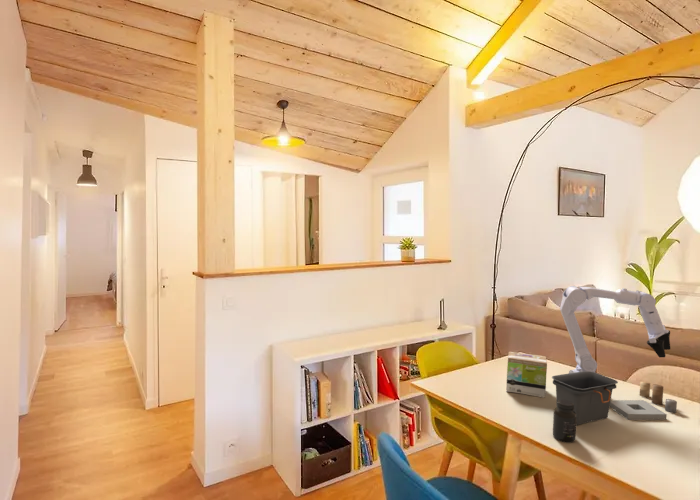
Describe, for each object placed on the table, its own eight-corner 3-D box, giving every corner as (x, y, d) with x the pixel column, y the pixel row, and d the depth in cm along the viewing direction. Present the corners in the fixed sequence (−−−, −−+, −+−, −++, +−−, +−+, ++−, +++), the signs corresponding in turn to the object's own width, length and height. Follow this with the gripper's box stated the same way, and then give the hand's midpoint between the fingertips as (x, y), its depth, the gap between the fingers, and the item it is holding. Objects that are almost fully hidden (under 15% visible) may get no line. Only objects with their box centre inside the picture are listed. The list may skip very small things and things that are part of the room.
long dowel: (655, 405, 166) (657, 387, 166) (649, 401, 169) (650, 384, 169) (664, 405, 166) (665, 387, 166) (658, 401, 170) (659, 384, 169)
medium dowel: (643, 397, 173) (644, 384, 173) (637, 394, 176) (638, 381, 176) (651, 397, 173) (652, 384, 173) (645, 394, 176) (646, 381, 176)
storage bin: (586, 405, 166) (588, 369, 165) (625, 422, 151) (627, 383, 150) (545, 414, 157) (547, 376, 156) (583, 433, 143) (585, 392, 142)
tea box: (506, 392, 177) (507, 357, 176) (506, 383, 186) (508, 350, 185) (545, 398, 172) (547, 362, 171) (544, 389, 181) (546, 355, 180)
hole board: (627, 419, 153) (628, 414, 153) (607, 405, 165) (607, 400, 165) (666, 419, 154) (666, 414, 154) (643, 405, 166) (643, 400, 166)
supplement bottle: (548, 433, 143) (549, 398, 142) (567, 432, 144) (569, 397, 143) (560, 443, 136) (561, 407, 136) (580, 442, 137) (582, 406, 136)
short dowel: (669, 413, 159) (670, 402, 159) (662, 409, 162) (663, 398, 162) (678, 413, 159) (679, 402, 159) (671, 409, 163) (672, 398, 162)
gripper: (658, 326, 164) (671, 360, 163) (668, 313, 173) (681, 345, 172) (638, 328, 169) (651, 360, 169) (649, 315, 178) (661, 346, 178)
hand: (664, 353), depth 171 cm, fingers open, 7 cm apart
